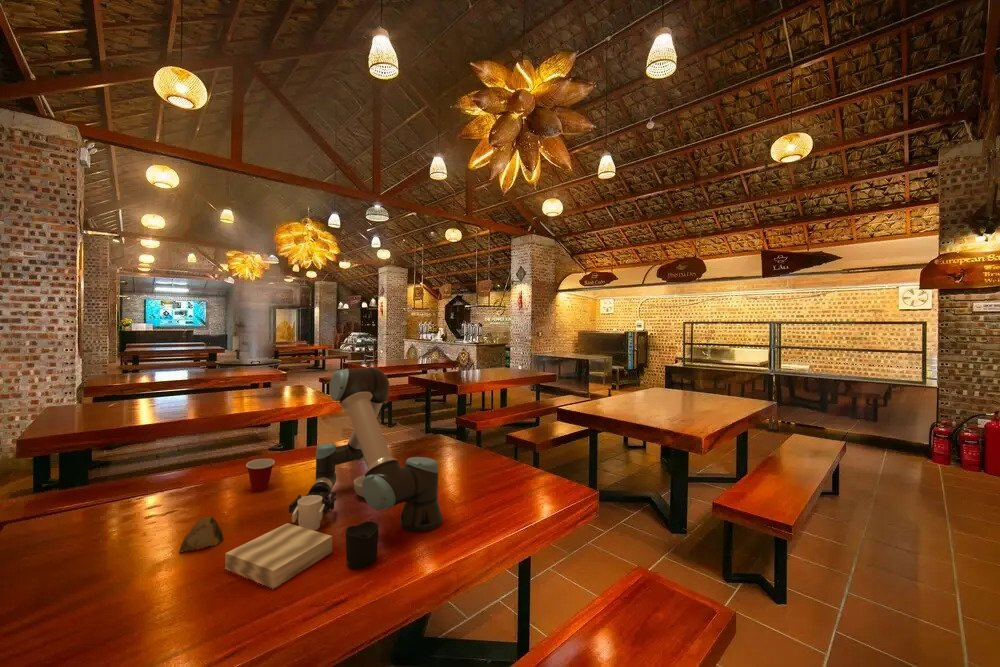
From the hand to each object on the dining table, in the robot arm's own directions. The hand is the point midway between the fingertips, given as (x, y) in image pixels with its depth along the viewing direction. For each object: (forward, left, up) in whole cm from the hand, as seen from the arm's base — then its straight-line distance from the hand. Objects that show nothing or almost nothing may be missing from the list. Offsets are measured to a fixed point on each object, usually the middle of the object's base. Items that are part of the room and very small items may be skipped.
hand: (306, 517), depth 134 cm
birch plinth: (-6, +14, -6) cm, 17 cm away
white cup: (+3, -4, -6) cm, 8 cm away
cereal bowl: (+2, -36, -6) cm, 36 cm away
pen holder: (-28, +4, -6) cm, 29 cm away
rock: (+24, +19, -6) cm, 31 cm away
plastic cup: (+50, -19, -6) cm, 54 cm away
